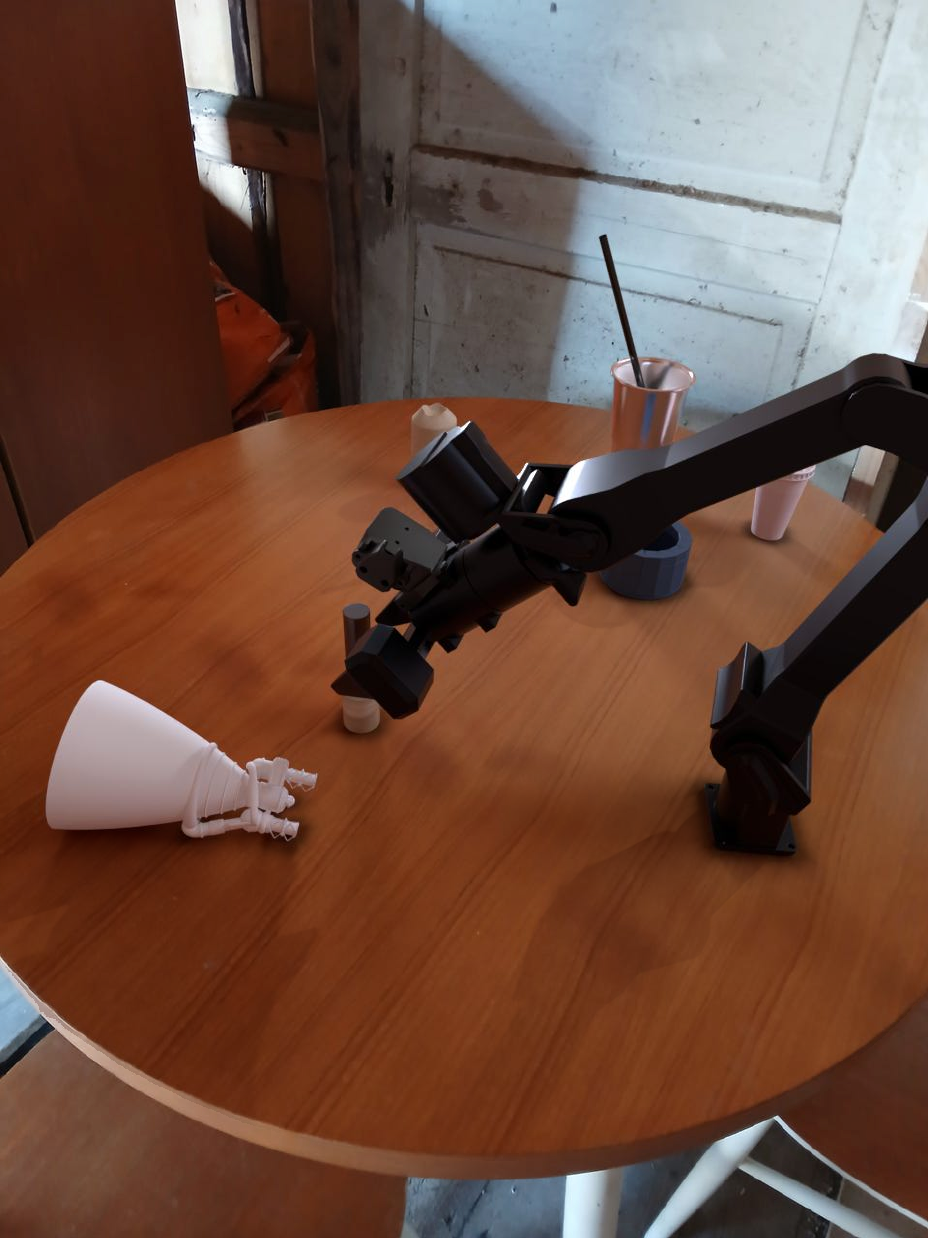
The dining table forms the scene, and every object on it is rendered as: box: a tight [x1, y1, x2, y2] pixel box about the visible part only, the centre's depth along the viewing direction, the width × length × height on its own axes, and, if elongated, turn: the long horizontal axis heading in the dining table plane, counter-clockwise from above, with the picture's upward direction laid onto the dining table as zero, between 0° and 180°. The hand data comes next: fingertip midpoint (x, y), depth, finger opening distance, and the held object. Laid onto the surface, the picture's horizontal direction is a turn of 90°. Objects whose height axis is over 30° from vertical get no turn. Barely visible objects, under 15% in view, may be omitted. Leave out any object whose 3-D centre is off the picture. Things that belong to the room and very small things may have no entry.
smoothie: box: [750, 464, 817, 541], centre depth 104 cm, size 6×6×14 cm
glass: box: [598, 233, 697, 453], centre depth 107 cm, size 11×11×30 cm
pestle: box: [341, 602, 381, 734], centre depth 77 cm, size 3×3×12 cm
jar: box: [598, 520, 693, 601], centre depth 99 cm, size 9×9×6 cm
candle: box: [411, 402, 458, 459], centre depth 112 cm, size 6×6×10 cm
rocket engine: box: [45, 679, 318, 842], centre depth 70 cm, size 12×12×18 cm
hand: (357, 654), depth 76 cm, fingers open, 9 cm apart
